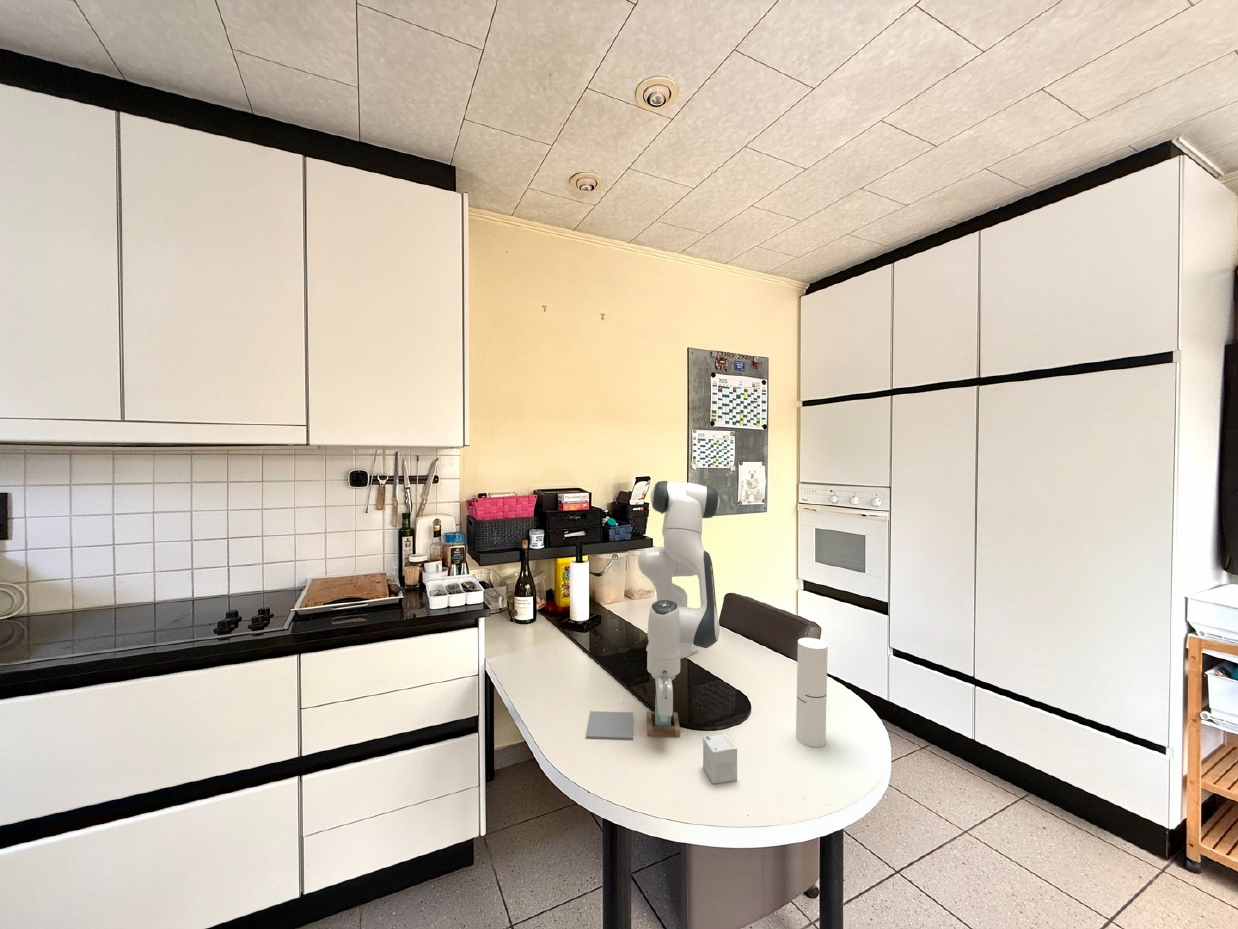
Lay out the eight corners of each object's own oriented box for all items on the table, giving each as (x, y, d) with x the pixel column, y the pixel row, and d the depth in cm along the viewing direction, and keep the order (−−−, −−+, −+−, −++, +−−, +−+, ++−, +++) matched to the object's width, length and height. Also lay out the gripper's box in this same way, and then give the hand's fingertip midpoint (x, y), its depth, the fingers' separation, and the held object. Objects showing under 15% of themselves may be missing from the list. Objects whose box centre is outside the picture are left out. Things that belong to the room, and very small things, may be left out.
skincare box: (737, 781, 109) (738, 748, 109) (712, 784, 108) (712, 752, 108) (726, 764, 115) (726, 733, 115) (702, 767, 114) (702, 736, 114)
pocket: (646, 718, 134) (646, 711, 134) (677, 719, 134) (677, 712, 134) (647, 736, 126) (647, 728, 126) (679, 737, 126) (680, 729, 125)
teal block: (655, 723, 132) (655, 694, 132) (669, 723, 132) (670, 694, 132) (655, 731, 128) (656, 701, 128) (670, 732, 128) (671, 702, 128)
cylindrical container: (822, 750, 121) (825, 651, 120) (793, 741, 124) (795, 644, 124) (827, 736, 127) (829, 641, 126) (799, 727, 130) (801, 635, 130)
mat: (590, 713, 137) (590, 711, 137) (633, 714, 136) (633, 712, 136) (586, 738, 125) (586, 736, 125) (632, 740, 124) (632, 737, 124)
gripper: (679, 682, 119) (678, 738, 119) (672, 648, 139) (672, 696, 140) (653, 681, 119) (652, 737, 119) (650, 648, 140) (650, 695, 140)
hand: (663, 714), depth 130 cm, fingers closed on teal block, 4 cm apart
